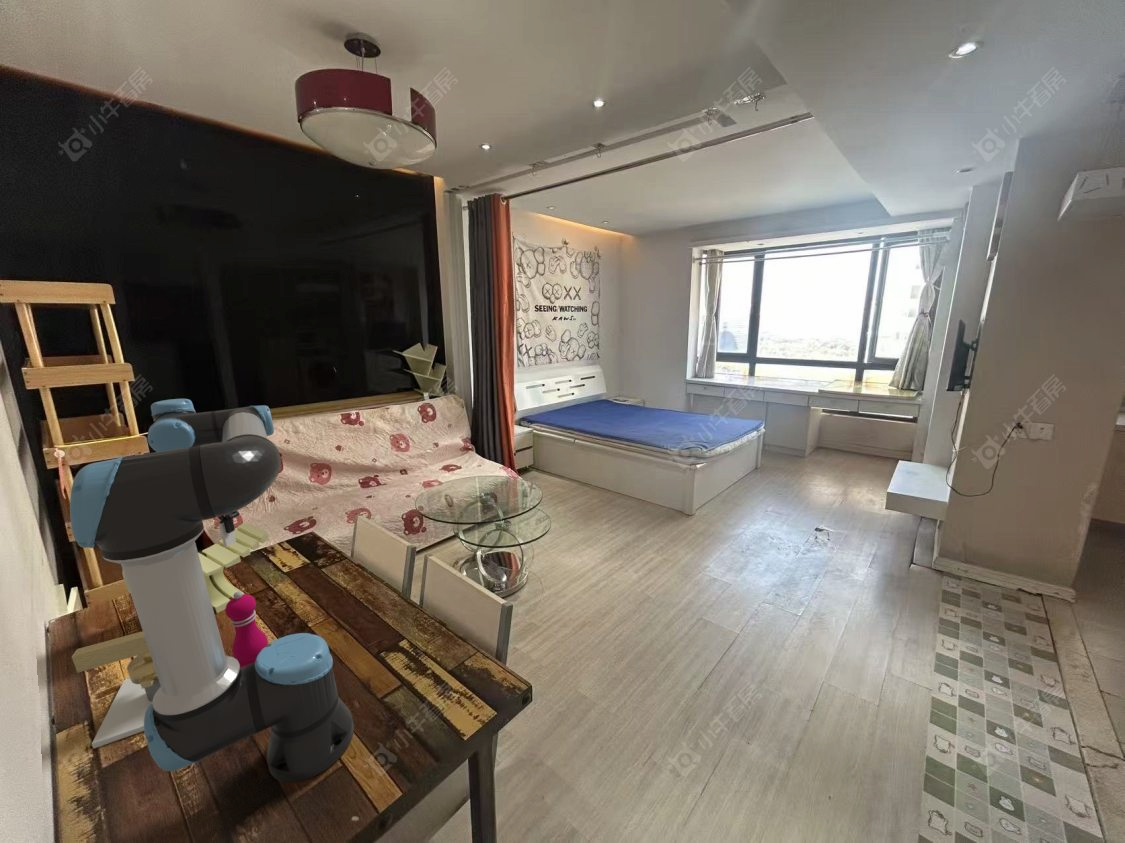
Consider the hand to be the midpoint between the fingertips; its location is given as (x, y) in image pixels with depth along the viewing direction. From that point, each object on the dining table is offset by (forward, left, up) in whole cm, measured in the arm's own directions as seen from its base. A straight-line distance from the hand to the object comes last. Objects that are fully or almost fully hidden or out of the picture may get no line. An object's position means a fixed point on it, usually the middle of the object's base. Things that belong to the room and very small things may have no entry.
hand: (207, 542), depth 112 cm
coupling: (-16, +10, -21) cm, 28 cm away
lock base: (-16, +10, -28) cm, 34 cm away
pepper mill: (-14, -7, -28) cm, 32 cm away
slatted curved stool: (+21, +7, -28) cm, 36 cm away
